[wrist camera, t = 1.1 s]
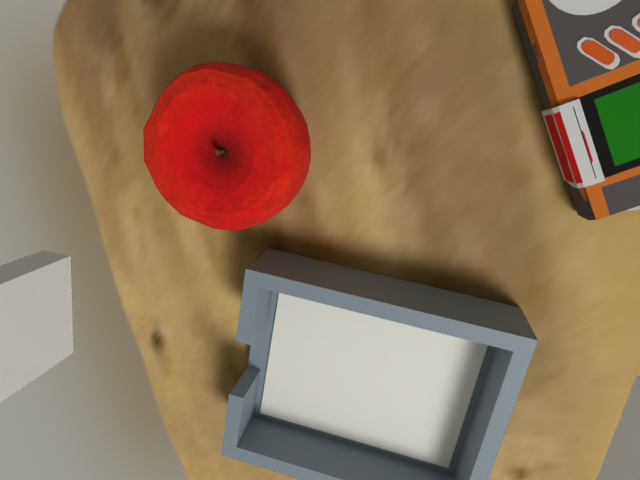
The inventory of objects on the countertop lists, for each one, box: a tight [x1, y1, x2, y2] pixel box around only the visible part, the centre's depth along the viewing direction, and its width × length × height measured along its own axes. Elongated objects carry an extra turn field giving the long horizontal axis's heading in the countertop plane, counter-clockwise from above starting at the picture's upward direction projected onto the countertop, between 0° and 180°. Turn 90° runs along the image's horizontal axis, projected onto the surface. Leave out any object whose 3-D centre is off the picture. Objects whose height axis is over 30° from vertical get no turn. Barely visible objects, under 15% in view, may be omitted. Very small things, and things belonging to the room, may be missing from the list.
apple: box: [144, 62, 311, 231], centre depth 26 cm, size 9×9×8 cm
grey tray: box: [221, 248, 538, 480], centre depth 30 cm, size 14×17×4 cm
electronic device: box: [512, 0, 640, 220], centre depth 24 cm, size 7×3×15 cm
